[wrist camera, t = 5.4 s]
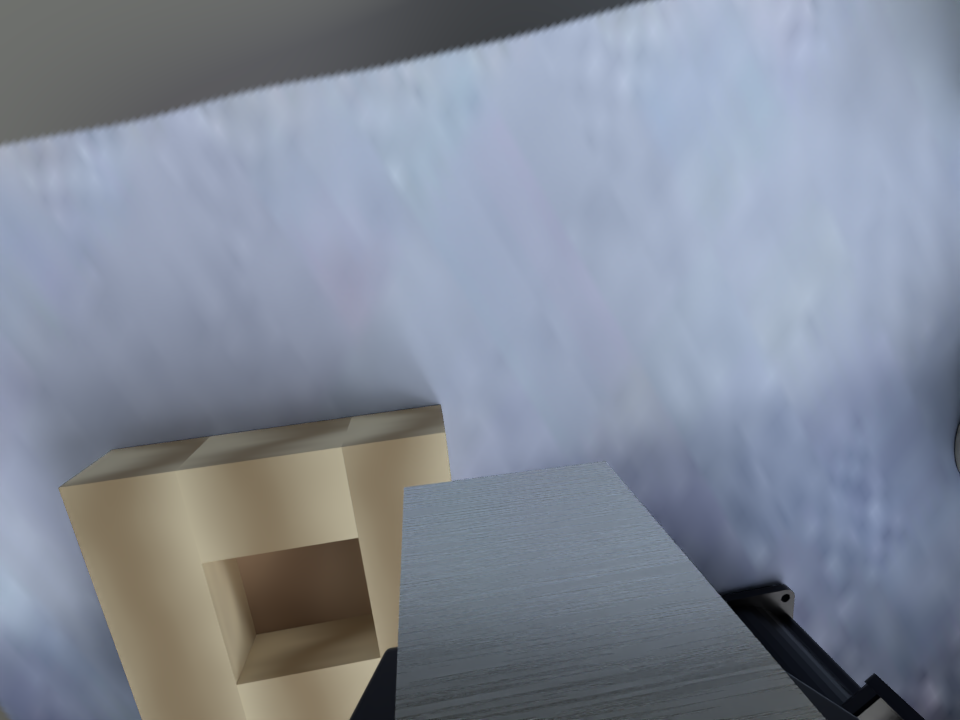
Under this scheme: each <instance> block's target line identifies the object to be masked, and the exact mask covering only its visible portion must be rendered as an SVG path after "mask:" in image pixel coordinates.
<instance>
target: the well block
mask: <svg viewBox="0 0 960 720" xmlns="http://www.w3.org/2000/svg"><path fill="white" fill-rule="evenodd" d="M449 481H451V474H450V466H449V458H448V450H447V442H446V434H445V427H444V421H443V415H442V409H441V405H434V406H427V407H420V408H412V409H405V410H398V411H390V412H383V413H376V414H369V415H361V416H354V417H347V418H340V419H332V420H325V421H318V422H310V423H303V424H296V425H289V426H281V427H274V428H267V429H259V430H252V431H245V432H238V433H230V434H223V435H216V436H209V437H201V438H194V439H187V440H179V441H172V442H165V443H158V444H150V445H143V446H136V447H129V448H121V449H114V450H111V451H110V452H108V453H107V454H105V455H104V456H103V457H101V458H100V459H98V460H97V461H95V462H94V463H93V464H91V465H90V466H88V467H87V468H86V469H84V470H83V471H81V472H80V473H79V474H77V475H76V476H74V477H73V478H72V479H70V480H69V481H67V482H66V483H64V484H63V485H62V486H60V487H59V491H60V494H61V497H62V499H63V502H64V505H65V508H66V510H67V513H68V516H69V519H70V521H71V524H72V527H73V530H74V533H75V535H76V538H77V541H78V544H79V546H80V549H81V552H82V555H83V557H84V560H85V563H86V566H87V569H88V571H89V574H90V577H91V580H92V582H93V585H94V588H95V591H96V593H97V596H98V599H99V602H100V605H101V607H102V610H103V613H104V616H105V618H106V621H107V624H108V627H109V630H110V632H111V635H112V638H113V641H114V643H115V646H116V649H117V652H118V654H119V657H120V660H121V663H122V666H123V668H124V671H125V674H126V677H127V679H128V682H129V685H130V688H131V690H132V693H133V696H134V699H135V702H136V704H137V707H138V710H139V713H140V715H141V718H142V720H349V719H350V717H351V715H352V713H353V712H354V710H355V708H356V706H357V704H358V702H359V700H360V698H361V696H362V694H363V692H364V691H365V689H366V687H367V685H368V683H369V681H370V679H371V677H372V675H373V673H374V672H375V670H376V668H377V666H378V664H379V662H380V660H381V658H382V656H383V654H384V653H385V651H386V650H387V649H388V648H392V647H398V628H399V602H400V577H401V551H402V526H403V500H404V487H411V486H418V485H426V484H434V483H441V482H449Z"/></svg>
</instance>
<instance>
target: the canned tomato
mask: <svg viewBox="0 0 960 720" xmlns="http://www.w3.org/2000/svg"><path fill="white" fill-rule="evenodd" d="M955 457H956V463H957V467H958V469H959V471H960V424H959V427H958V431H957V436H956V440H955Z"/></svg>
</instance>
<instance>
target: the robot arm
mask: <svg viewBox="0 0 960 720" xmlns="http://www.w3.org/2000/svg"><path fill="white" fill-rule="evenodd" d="M721 597H722V598H723V600H724V601H725V602H726V603H727V604H728V605H729V607H730V608H731V609H732V610H733V611H734V613H735V614H736V615H737V616H738V617H739V618H740V620H741V621H742V622H743V623H744V624H745V625H746V627H747V628H748V629H749V630H750V631H751V632H752V634H753V635H754V636H755V637H756V638H757V639H758V641H759V642H760V643H761V644H762V645H763V646H764V648H765V649H766V650H767V651H768V652H769V653H770V655H771V656H772V657H773V658H774V659H775V661H776V662H777V663H778V664H779V665H780V666H781V668H782V669H783V670H784V671H785V672H786V673H787V675H788V676H789V677H790V678H791V679H792V680H793V682H794V683H795V684H796V685H797V686H798V687H799V689H800V690H801V691H802V692H803V693H804V694H805V696H806V697H807V698H808V699H809V700H810V702H811V703H812V704H813V705H814V706H815V707H816V709H817V710H818V711H819V712H820V713H821V714H822V716H823V717H824V718H825V719H826V720H925V719H924V718H923V717H921V716H920V715H919V714H918V713H917V712H916V711H915V710H914V709H913V708H912V707H911V706H910V705H908V704H907V703H906V702H905V701H904V700H903V699H902V698H901V697H900V696H899V695H898V694H897V693H895V692H894V691H893V690H892V689H891V688H890V687H889V686H888V685H887V684H886V683H885V682H884V681H882V680H881V679H880V678H879V677H878V676H877V675H876V674H875V673H874V674H873V675H871V676H870V677H869V678H868V679H867V680H865V681H864V682H865V683H866V684H865V685H864V686H863V687H862V688H861V687H860V686H859V685H858V684H857V683H856V682H855V681H854V680H853V679H852V678H851V677H850V676H849V675H848V674H847V673H846V672H845V671H844V670H843V669H842V668H841V667H840V666H839V665H838V664H837V663H836V662H835V661H834V660H833V659H832V658H831V657H830V656H829V655H828V654H827V653H826V652H825V651H824V650H823V649H822V648H821V647H820V646H819V645H818V644H817V643H816V642H815V641H814V640H813V639H812V638H811V637H810V636H809V635H808V634H807V633H806V632H805V631H804V630H803V629H802V628H801V627H800V626H799V625H798V624H797V623H796V622H795V621H794V620H793V609H794V598H795V595H794V592H793V591H792V590H791V589H790V588H789V587H788V586H786V585H784V584H783V585H775V586H770V587H765V588H760V589H754V590H749V591H744V592H739V593H734V594H728V595H723V596H721ZM397 654H398V647H392V648H388V649H387V650H386V651H385V653H384V654H383V656H382V658H381V660H380V662H379V664H378V666H377V668H376V670H375V672H374V673H373V675H372V677H371V679H370V681H369V683H368V685H367V687H366V689H365V691H364V692H363V694H362V696H361V698H360V700H359V702H358V704H357V706H356V708H355V710H354V712H353V713H352V715H351V717H350V719H349V720H395V705H396V679H397Z"/></svg>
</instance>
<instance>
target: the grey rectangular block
mask: <svg viewBox="0 0 960 720" xmlns="http://www.w3.org/2000/svg"><path fill="white" fill-rule="evenodd" d="M395 720H826V719H825V718H824V717H823V716H822V714H821V713H820V712H819V711H818V710H817V709H816V707H815V706H814V705H813V704H812V703H811V702H810V700H809V699H808V698H807V697H806V696H805V694H804V693H803V692H802V691H801V690H800V689H799V687H798V686H797V685H796V684H795V683H794V682H793V680H792V679H791V678H790V677H789V676H788V675H787V673H786V672H785V671H784V670H783V669H782V668H781V666H780V665H779V664H778V663H777V662H776V661H775V659H774V658H773V657H772V656H771V655H770V653H769V652H768V651H767V650H766V649H765V648H764V646H763V645H762V644H761V643H760V642H759V641H758V639H757V638H756V637H755V636H754V635H753V634H752V632H751V631H750V630H749V629H748V628H747V627H746V625H745V624H744V623H743V622H742V621H741V620H740V618H739V617H738V616H737V615H736V614H735V613H734V611H733V610H732V609H731V608H730V607H729V605H728V604H727V603H726V602H725V601H724V600H723V598H722V597H721V596H720V595H719V594H718V593H717V591H716V590H715V589H714V588H713V587H712V586H711V584H710V583H709V582H708V581H707V580H706V579H705V577H704V576H703V575H702V574H701V573H700V572H699V570H698V569H697V568H696V567H695V566H694V565H693V563H692V562H691V561H690V560H689V559H688V557H687V556H686V555H685V554H684V553H683V552H682V550H681V549H680V548H679V547H678V546H677V545H676V543H675V542H674V541H673V540H672V539H671V538H670V536H669V535H668V534H667V533H666V532H665V531H664V529H663V528H662V527H661V526H660V525H659V524H658V522H657V521H656V520H655V519H654V518H653V517H652V515H651V514H650V513H649V512H648V511H647V509H646V508H645V507H644V506H643V505H642V504H641V502H640V501H639V500H638V499H637V498H636V497H635V495H634V494H633V493H632V492H631V491H630V490H629V488H628V487H627V486H626V485H625V484H624V483H623V481H622V480H621V479H620V478H619V477H618V476H617V474H616V473H615V472H614V471H613V470H612V469H611V467H610V466H609V465H608V464H607V463H606V461H602V462H595V463H587V464H579V465H572V466H564V467H556V468H549V469H541V470H533V471H526V472H518V473H510V474H503V475H495V476H487V477H480V478H472V479H464V480H457V481H449V482H441V483H434V484H426V485H418V486H411V487H404V500H403V526H402V551H401V577H400V602H399V628H398V654H397V679H396V705H395Z"/></svg>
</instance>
